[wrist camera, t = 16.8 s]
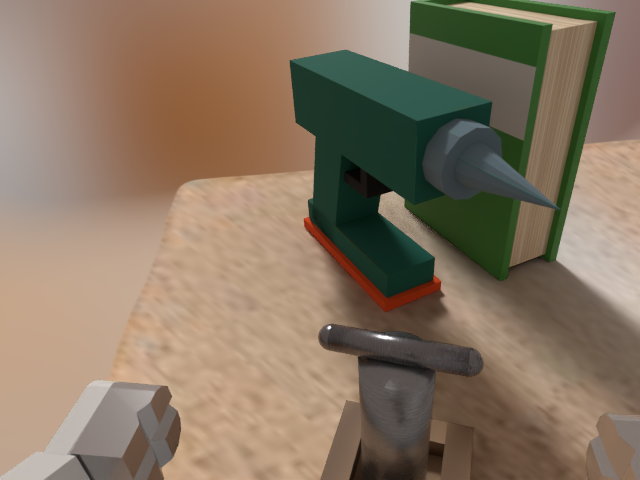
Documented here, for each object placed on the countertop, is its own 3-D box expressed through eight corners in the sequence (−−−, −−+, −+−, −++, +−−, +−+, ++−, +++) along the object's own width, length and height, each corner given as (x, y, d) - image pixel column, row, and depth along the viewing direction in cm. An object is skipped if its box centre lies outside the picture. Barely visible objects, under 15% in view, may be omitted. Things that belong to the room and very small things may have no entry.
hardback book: (555, 259, 52) (615, 12, 38) (499, 281, 49) (543, 25, 36) (452, 192, 65) (469, -8, 52) (404, 206, 63) (410, 1, 50)
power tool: (553, 380, 39) (622, 142, 28) (484, 417, 36) (529, 174, 25) (353, 210, 63) (347, 47, 52) (304, 226, 61) (287, 59, 50)
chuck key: (462, 475, 32) (486, 326, 25) (457, 537, 29) (483, 387, 22) (340, 444, 35) (329, 301, 27) (323, 499, 32) (305, 352, 24)
